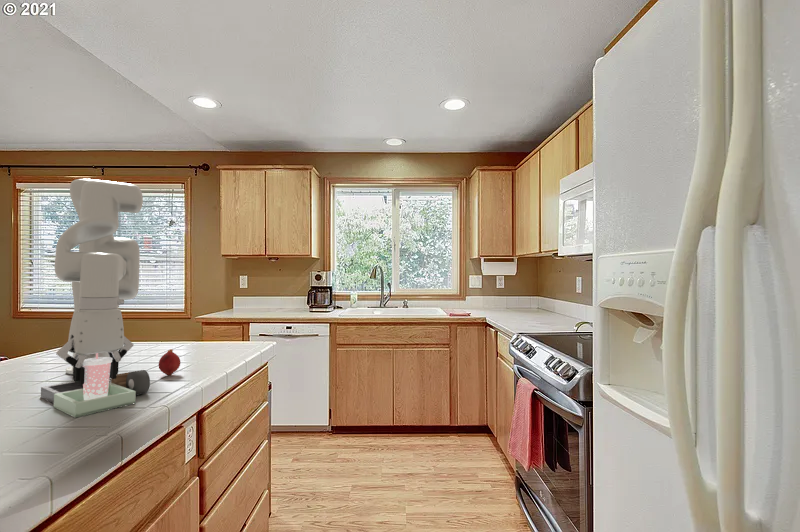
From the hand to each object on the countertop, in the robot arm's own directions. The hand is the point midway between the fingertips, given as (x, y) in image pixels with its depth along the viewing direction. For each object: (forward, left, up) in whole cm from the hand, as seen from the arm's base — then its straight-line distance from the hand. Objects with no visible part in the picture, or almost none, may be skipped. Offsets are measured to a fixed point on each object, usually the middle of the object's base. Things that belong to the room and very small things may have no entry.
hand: (96, 380), depth 97 cm
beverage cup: (0, 0, -4) cm, 4 cm away
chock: (-7, +10, -6) cm, 14 cm away
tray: (0, 0, -6) cm, 6 cm away
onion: (-14, +25, -6) cm, 29 cm away
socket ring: (-12, 0, -6) cm, 14 cm away
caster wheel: (-1, +10, -6) cm, 12 cm away
